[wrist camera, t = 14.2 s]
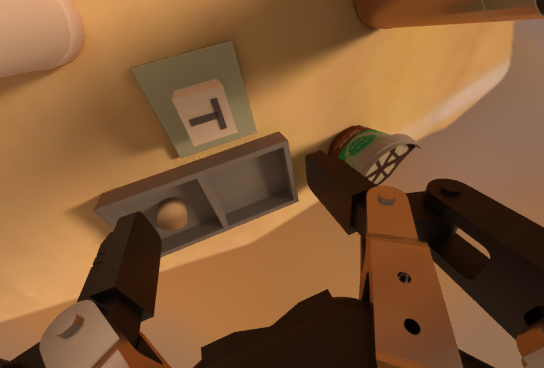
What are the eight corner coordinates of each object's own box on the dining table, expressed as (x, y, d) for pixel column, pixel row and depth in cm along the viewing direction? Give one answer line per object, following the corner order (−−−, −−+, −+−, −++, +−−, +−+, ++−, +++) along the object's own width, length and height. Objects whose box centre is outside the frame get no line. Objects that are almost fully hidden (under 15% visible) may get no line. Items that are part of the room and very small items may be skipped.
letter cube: (174, 90, 24) (171, 100, 20) (216, 78, 24) (222, 85, 20) (192, 131, 27) (194, 146, 23) (230, 119, 27) (237, 132, 23)
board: (131, 67, 22) (129, 68, 21) (230, 40, 24) (232, 40, 23) (180, 155, 29) (180, 158, 28) (255, 129, 30) (256, 132, 30)
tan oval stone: (153, 203, 31) (150, 216, 29) (179, 193, 31) (179, 205, 29) (167, 220, 33) (165, 234, 31) (191, 211, 34) (192, 224, 32)
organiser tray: (102, 193, 28) (93, 209, 25) (279, 131, 32) (287, 140, 29) (152, 245, 35) (149, 262, 33) (290, 190, 39) (298, 201, 36)
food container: (358, 102, 34) (410, 121, 26) (375, 123, 37) (425, 145, 29) (308, 161, 37) (341, 194, 29) (328, 175, 40) (362, 208, 33)
